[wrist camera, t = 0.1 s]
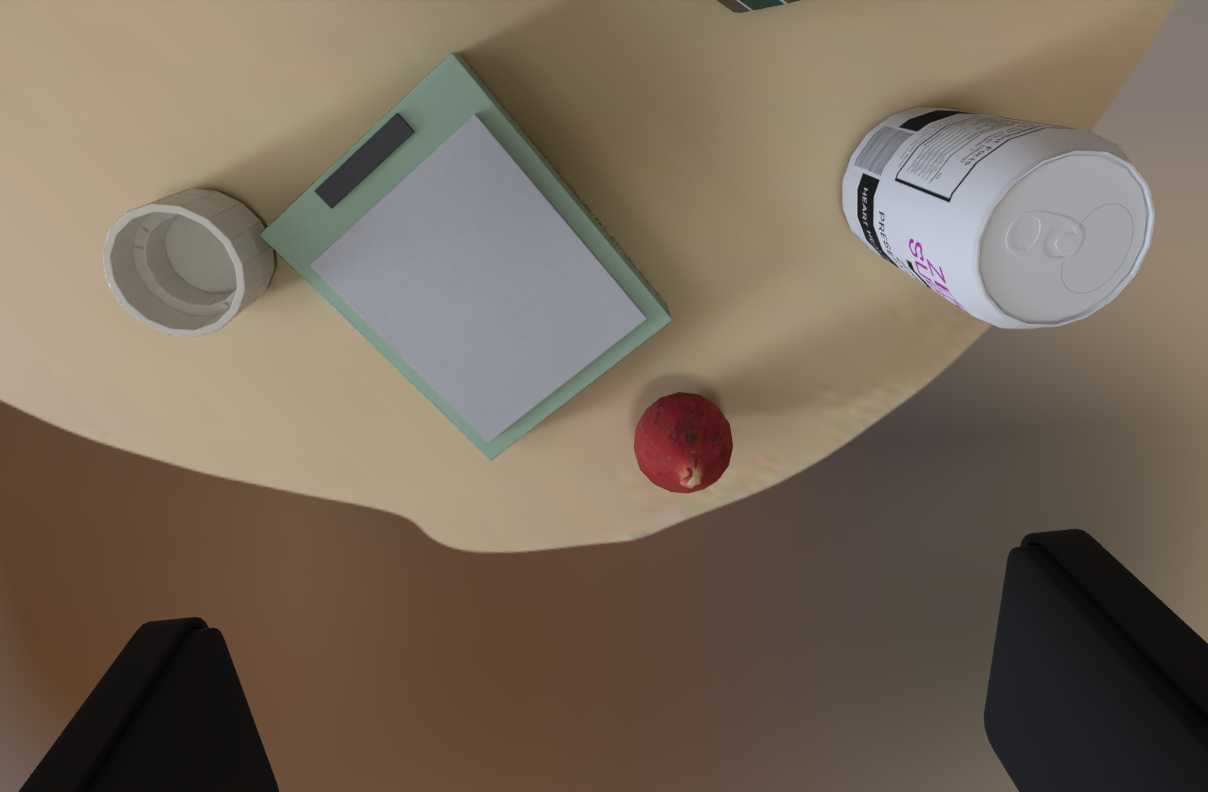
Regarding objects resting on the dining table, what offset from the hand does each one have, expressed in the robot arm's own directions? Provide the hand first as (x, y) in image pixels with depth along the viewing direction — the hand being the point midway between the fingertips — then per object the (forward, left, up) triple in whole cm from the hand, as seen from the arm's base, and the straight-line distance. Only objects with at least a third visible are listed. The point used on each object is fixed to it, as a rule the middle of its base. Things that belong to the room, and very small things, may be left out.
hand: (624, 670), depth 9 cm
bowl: (-10, -18, -37) cm, 43 cm away
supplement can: (+12, +15, -37) cm, 42 cm away
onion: (+15, -4, -37) cm, 41 cm away
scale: (0, -7, -37) cm, 38 cm away
